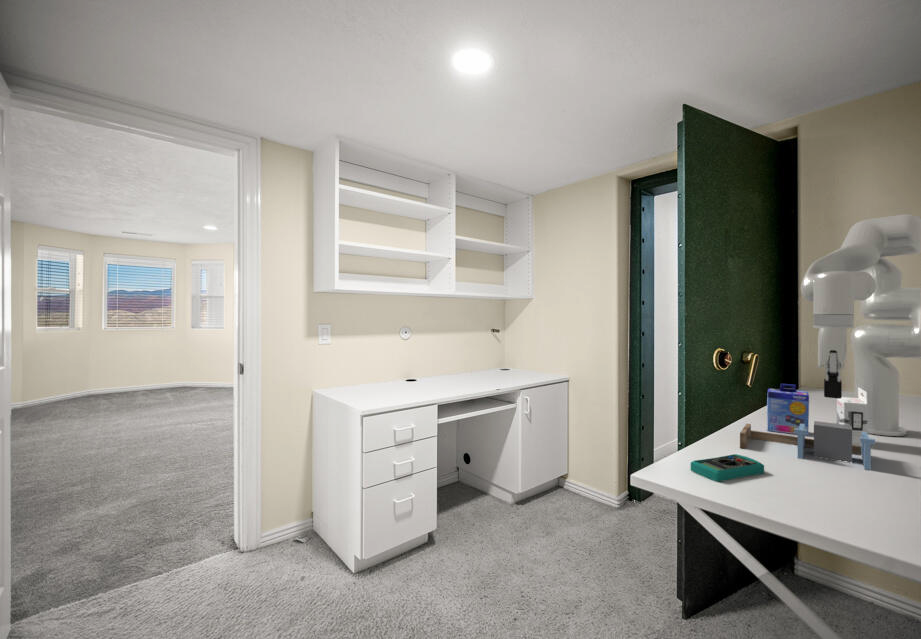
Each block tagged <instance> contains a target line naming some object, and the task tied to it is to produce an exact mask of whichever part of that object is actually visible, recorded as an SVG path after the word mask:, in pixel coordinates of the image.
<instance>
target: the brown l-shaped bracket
mask: <svg viewBox="0 0 921 639" xmlns="http://www.w3.org/2000/svg"><path fill="white" fill-rule="evenodd" d="M751 426H752V425H751V423H746V424H745V425H744V426H743V428H742V429H741V431H740V432H739V449H746V447H747V445H748V444H749V442H750V440H751V439H754V440H759V441H760V440H761V441H768V442H775V443H781V444H786V445H792V444H793V445H792V446H794V445H795V446H798V436H795V435H794V436H792V435H787V434H780V433H772V432H764V431H758V430H752V427H751ZM805 446H806V447H807V448H812V447H813V448H812V449H814V438H808V437H807V438H806V437H805ZM806 447H805V448H806ZM852 453H853V454H852V455H857V454H859V456H861V446H856V445H852Z"/></svg>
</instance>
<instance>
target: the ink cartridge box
mask: <svg viewBox="0 0 921 639" xmlns="http://www.w3.org/2000/svg"><path fill="white" fill-rule="evenodd" d="M796 385H797V384H790V383H789V384H788V383H780V386H779V388H767V398H766V399H767V400H766V417H767V418H766V421H767V424H766V425H767V427H766V428H767V429H766V430H767V432H774V433H779V434H780V433H781V434H782V433H783V434H789V435H790V434H791V435H795V436H796V435H797V436H798V434H796V433H794V428H797V429H799V426H800V424H805V430H807V435H805V437H808V436H809V435H810V433H809V421H810V420H809V418H810V417H809V416H810V414H809V413H810V395H809V392H808V391H805V390H797V389H796V388H797V387H796ZM788 387H789V388H788Z"/></svg>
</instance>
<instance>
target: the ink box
mask: <svg viewBox="0 0 921 639" xmlns="http://www.w3.org/2000/svg"><path fill="white" fill-rule="evenodd" d="M861 393H863V395H864V397H863V396H862V395H861ZM836 424H843V425H851V426H852V445H856V446H861V444H862V443H860V437H862V431H863V432H867V392H866V391H864V390H862V389H861V388H859V387H858V398H855V397H850V396H849V397H846V396H842V398H840V399H838V398H836Z"/></svg>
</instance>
